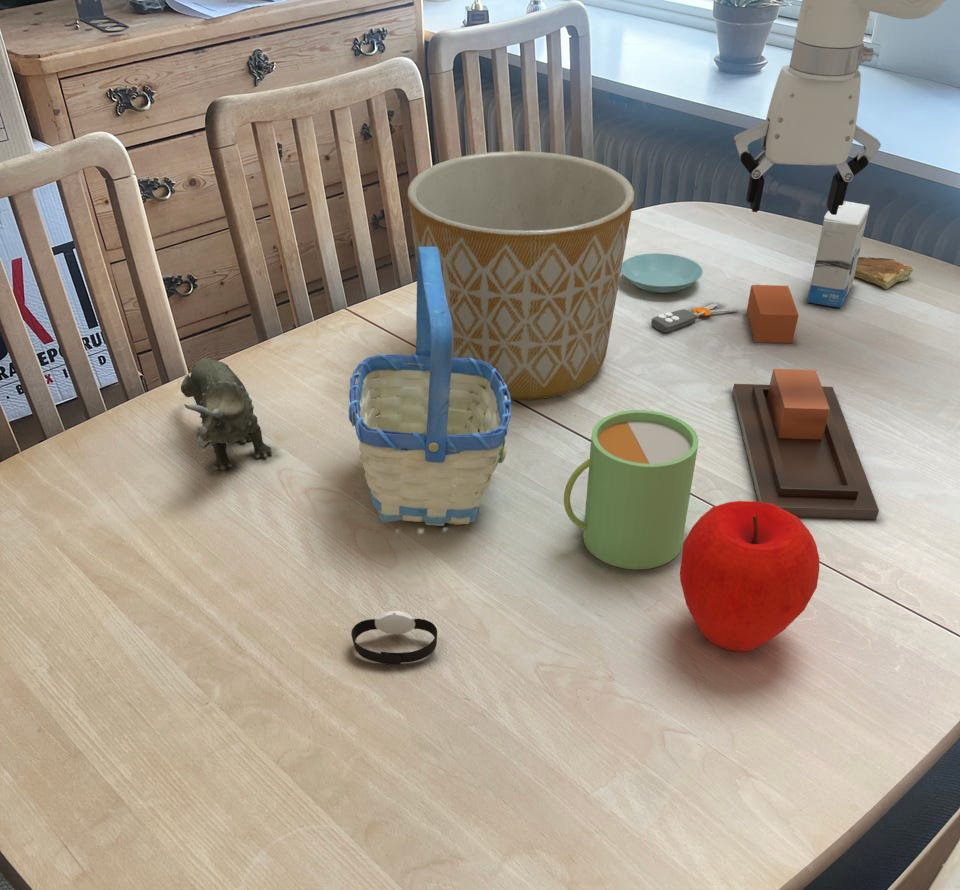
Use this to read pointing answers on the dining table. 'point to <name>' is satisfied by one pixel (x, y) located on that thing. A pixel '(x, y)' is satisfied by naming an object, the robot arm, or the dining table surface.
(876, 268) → the piece of bread
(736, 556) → the apple
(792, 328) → the block
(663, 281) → the saucer
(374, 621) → the watch
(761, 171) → the robot arm
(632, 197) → the planter
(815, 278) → the ink box
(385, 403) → the basket
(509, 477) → the dining table surface
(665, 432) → the mug
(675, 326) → the key chain
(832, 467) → the board
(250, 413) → the toy dinosaur
